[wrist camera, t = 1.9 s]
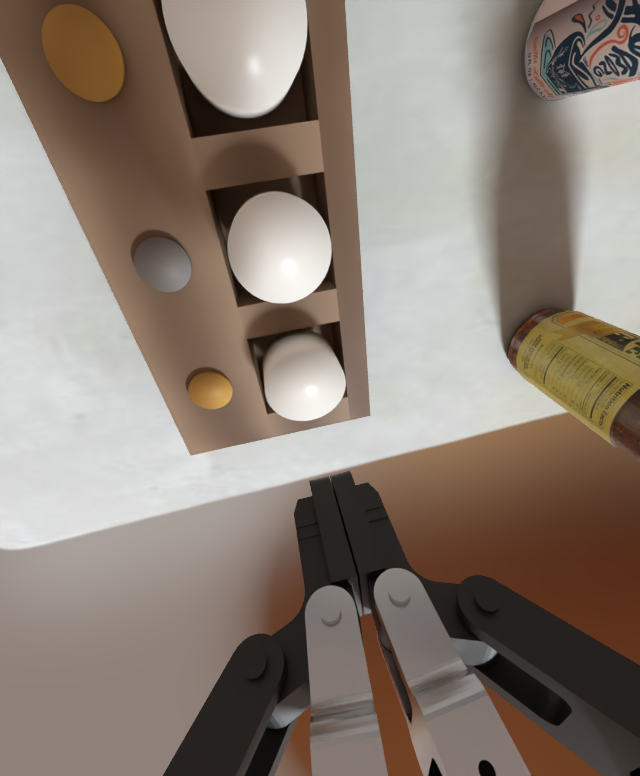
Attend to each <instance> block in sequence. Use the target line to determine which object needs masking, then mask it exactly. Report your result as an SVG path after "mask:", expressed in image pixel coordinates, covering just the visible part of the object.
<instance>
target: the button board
mask: <svg viewBox="0 0 640 776" xmlns="http://www.w3.org/2000/svg"><path fill="white" fill-rule="evenodd" d="M305 2H306V8H307V39H306V47H305V51H304V55H303V59H302V62H301V65H300V68H299V70H298V72H297V74H296V76H295V78H294V80H293V82H292V85H291V87H290V89H289V91H288V93H287V95H286V96H285V98H284V99H283V101H282V102H281V104H280V105H279V106H278V107H277V108H276V109H275V110H274V111H272V112H271V113H269V114H268V115H266V116H264V117H262V118H259V119H255V120H239V119H235V118H231V117H229V116H227V115H225V114H223V113H221V112H220V111H218V110H217V109H215V108H214V107H213V106H211V105H210V104H209V103H208V102H207V101H206V100H205V99H204V97H203V96H202V95H201V94H200V93H199V91H198V90H197V88H196V87H195V85H194V84H193V82H192V80H191V78H190V77H189V75H188V73H187V72H186V70H185V68H184V67H183V65H182V63H181V61H180V59H179V58H178V56H177V54H176V52H175V50H174V47H173V45H172V43H171V40H170V37H169V34H168V31H167V28H166V24H165V20H164V15H163V10H162V2H161V0H0V57H1V59H2V61H3V63H4V66H5V68H6V70H7V72H8V74H9V76H10V78H11V80H12V82H13V84H14V86H15V89H16V91H17V93H18V95H19V97H20V99H21V101H22V103H23V105H24V107H25V109H26V112H27V114H28V116H29V118H30V120H31V122H32V124H33V126H34V128H35V130H36V133H37V135H38V137H39V139H40V141H41V143H42V145H43V147H44V149H45V151H46V153H47V156H48V158H49V160H50V162H51V164H52V166H53V168H54V170H55V172H56V174H57V176H58V179H59V181H60V183H61V185H62V187H63V189H64V191H65V193H66V195H67V197H68V200H69V202H70V204H71V206H72V208H73V210H74V212H75V214H76V216H77V218H78V220H79V223H80V225H81V227H82V229H83V231H84V233H85V235H86V237H87V239H88V241H89V243H90V246H91V248H92V250H93V252H94V254H95V256H96V258H97V260H98V262H99V264H100V267H101V269H102V271H103V273H104V275H105V277H106V279H107V281H108V283H109V285H110V287H111V290H112V292H113V294H114V296H115V298H116V300H117V302H118V304H119V306H120V308H121V310H122V313H123V315H124V317H125V319H126V321H127V323H128V325H129V327H130V329H131V331H132V334H133V336H134V338H135V340H136V342H137V344H138V346H139V348H140V350H141V352H142V354H143V357H144V359H145V361H146V363H147V365H148V367H149V369H150V371H151V373H152V375H153V377H154V380H155V382H156V384H157V386H158V388H159V390H160V392H161V394H162V396H163V398H164V401H165V403H166V405H167V407H168V409H169V411H170V413H171V415H172V417H173V419H174V421H175V424H176V426H177V428H178V430H179V432H180V434H181V436H182V438H183V440H184V442H185V444H186V447H187V449H188V451H189V453H190V455H195V454H199V453H204V452H208V451H213V450H217V449H222V448H226V447H231V446H235V445H240V444H244V443H249V442H253V441H258V440H262V439H267V438H271V437H276V436H280V435H285V434H290V433H294V432H299V431H303V430H308V429H312V428H317V427H321V426H326V425H330V424H335V423H339V422H344V421H348V420H353V419H357V418H362V417H366V416H370V404H369V388H368V371H367V355H366V339H365V323H364V306H363V290H362V274H361V257H360V241H359V225H358V209H357V192H356V176H355V160H354V143H353V127H352V111H351V95H350V78H349V62H348V46H347V29H346V13H345V0H305ZM269 190H277V191H283V192H286V193H289V194H292V195H294V196H296V197H298V198H300V199H302V200H304V201H306V202H307V203H308V204H310V205H311V206H312V207H313V208H314V209H315V210H316V211H317V212H318V213H319V214H320V216H321V217H322V219H323V220H324V222H325V224H326V226H327V229H328V231H329V235H330V239H331V249H332V252H331V261H330V265H329V268H328V271H327V273H326V276H325V278H324V279H323V281H322V282H321V284H320V285H319V286H318V287H317V288H316V289H315V290H314V291H313V292H312V293H311V294H309V295H308V296H306V297H304V298H303V299H300V300H298V301H295V302H291V303H271V302H267V301H264V300H262V299H259V298H257V297H256V296H254V295H252V294H251V293H250V292H248V291H247V290H246V289H245V288H244V287H243V286H242V285H241V283H240V282H239V281H238V279H237V278H236V276H235V274H234V272H233V270H232V268H231V265H230V262H229V257H228V248H227V246H228V236H229V231H230V228H231V225H232V222H233V219H234V216H235V214H236V212H237V211H238V209H239V208H240V206H241V205H242V204H243V203H244V202H245V201H246V200H247V199H248V198H250V197H251V196H253V195H255V194H257V193H260V192H263V191H269ZM296 329H307V330H311V331H314V332H317V333H318V334H320V335H322V336H323V337H324V338H325V339H326V340H327V341H328V342H329V344H330V345H331V347H332V349H333V351H334V353H335V355H336V358H337V360H338V362H339V364H340V366H341V368H342V370H343V372H344V375H345V379H346V387H345V392H344V395H343V397H342V399H341V401H340V402H339V403H338V405H337V406H336V407H335V408H334V409H333V410H332V411H330V412H329V413H327V414H326V415H324V416H322V417H320V418H317V419H313V420H308V421H295V420H290V419H287V418H285V417H282V416H281V415H279V414H278V413H276V412H275V411H274V410H273V409H272V408H271V406H270V405H269V403H268V401H267V399H266V395H265V386H264V374H263V356H264V353H265V350H266V348H267V347H268V345H269V344H270V343H271V341H272V340H274V339H275V338H276V337H277V336H279V335H280V334H282V333H284V332H287V331H291V330H296Z"/></svg>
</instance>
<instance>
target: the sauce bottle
mask: <svg viewBox="0 0 640 776" xmlns="http://www.w3.org/2000/svg"><path fill="white" fill-rule="evenodd" d="M508 358H509V360H510V363H511V364H512V366H513V367H514V368H515V369H516V370H517V371H518V372H519V373H520V375H521V376H522V377H523V378H524V379H525V380H527V381H528V382H529V383H531V384H532V385H534V386H535V387H536V388H538V389H539V390H540V391H541V392H543V393H544V394H545V395H547V396H548V397H549V398H551V399H552V400H553V401H555V402H556V403H557V404H559V405H560V406H561V407H563V408H564V409H565V410H567V411H568V412H569V413H571V414H572V415H573V416H575V417H576V418H577V419H579V420H580V421H581V422H583V423H584V424H585V425H587V426H588V427H589V428H591V429H592V430H593V431H595V432H596V433H597V434H599V435H600V436H601V437H603V438H604V439H605V440H607V441H608V442H609V443H611V444H612V445H613V446H615V447H616V448H619V449H621V450H623V451H624V452H626V453H627V454H629V455H630V456H632V457H633V458H634V459H635V460H637V461H638V462H640V336H638V335H635V334H633V333H630V332H628V331H626V330H623V329H621V328H618V327H616V326H613V325H611V324H608V323H606V322H603V321H601V320H599V319H596V318H594V317H591V316H589V315H586V314H584V313H581V312H579V311H571V310H568V309H562V308H559V309H558V308H553V309H546V310H542V311H540V312H538V313H536V314H535V315H533V316H532V317H531V318H530V319H528V320H527V321H526V322H525V323H523V324H522V325H521V326H520V328H519V329H518V330H517V332H516V333H515V335H514V337H513V338H512V341H511V344H510V345H509V351H508Z"/></svg>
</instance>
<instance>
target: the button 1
mask: <svg viewBox="0 0 640 776" xmlns="http://www.w3.org/2000/svg"><path fill="white" fill-rule="evenodd" d="M161 2H162V10H163V15H164V20H165V24H166V28H167V31H168V34H169V37H170V40H171V43H172V45H173V47H174V50H175V52H176V54H177V56H178V58H179V59H180V61H181V63H182V65H183V67H184V68H185V70H186V72H187V73H188V75H189V77H190V78H191V80H192V82H193V84H194V85H195V87H196V88H197V90H198V91H199V93H200V94H201V95H202V96H203V97H204V99H205V100H206V101H207V102H208V103H209V104H210V105H211V106H213V107H214V108H215V109H217V110H218V111H220V112H221V113H223V114H225V115H227V116H229V117H231V118H235V119H239V120H255V119H259V118H262V117H264V116H266V115H268V114H269V113H271V112H272V111H274V110H275V109H276V108H277V107H278V106H279V105H280V104H281V102H282V101H283V99H284V98H285V96H286V95H287V93H288V91H289V89H290V87H291V85H292V82H293V80H294V78H295V76H296V74H297V72H298V70H299V68H300V65H301V62H302V59H303V55H304V51H305V47H306V39H307V8H306V2H305V0H161Z"/></svg>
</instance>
